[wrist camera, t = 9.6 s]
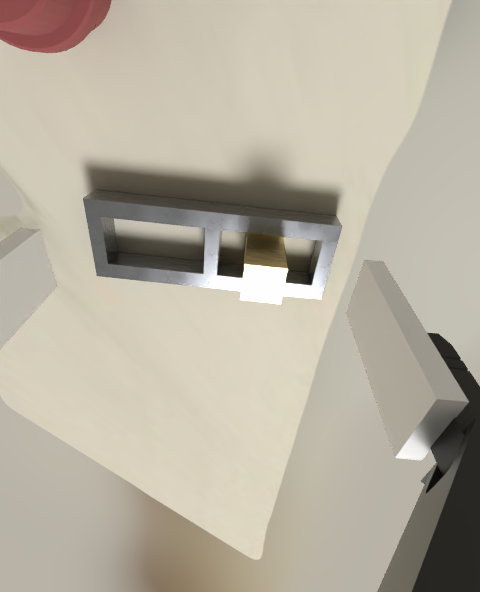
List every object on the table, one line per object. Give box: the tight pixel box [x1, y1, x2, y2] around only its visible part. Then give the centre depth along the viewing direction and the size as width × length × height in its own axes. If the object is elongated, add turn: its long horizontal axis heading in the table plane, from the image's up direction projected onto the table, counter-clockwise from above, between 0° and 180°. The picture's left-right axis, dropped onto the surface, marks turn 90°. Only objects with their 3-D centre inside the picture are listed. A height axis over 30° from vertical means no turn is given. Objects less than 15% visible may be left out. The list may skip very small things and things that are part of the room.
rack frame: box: [83, 190, 342, 300], centre depth 36 cm, size 9×26×3 cm, turn 85°
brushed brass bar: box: [241, 233, 288, 304], centre depth 34 cm, size 4×4×8 cm
